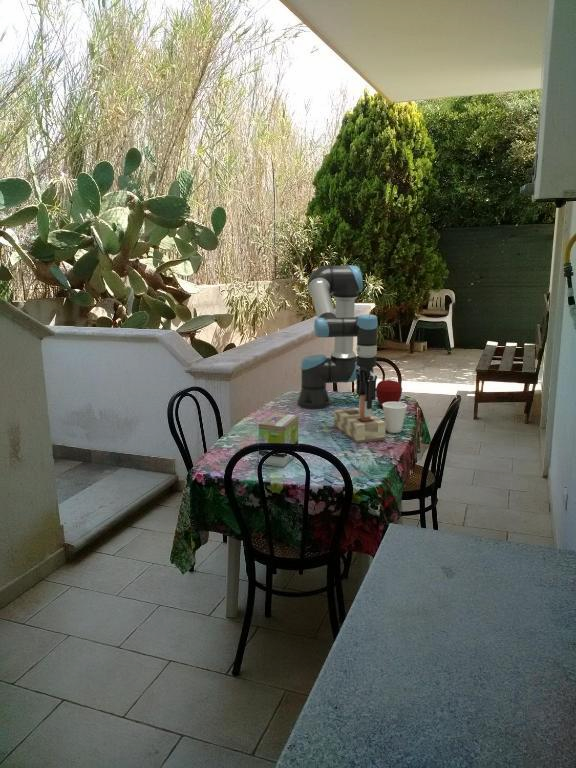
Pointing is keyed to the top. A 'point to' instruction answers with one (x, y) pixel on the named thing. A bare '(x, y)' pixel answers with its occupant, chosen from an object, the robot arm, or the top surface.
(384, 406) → the cup
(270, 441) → the tea box
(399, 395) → the apple
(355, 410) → the hole block
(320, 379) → the robot arm
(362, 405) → the peg
